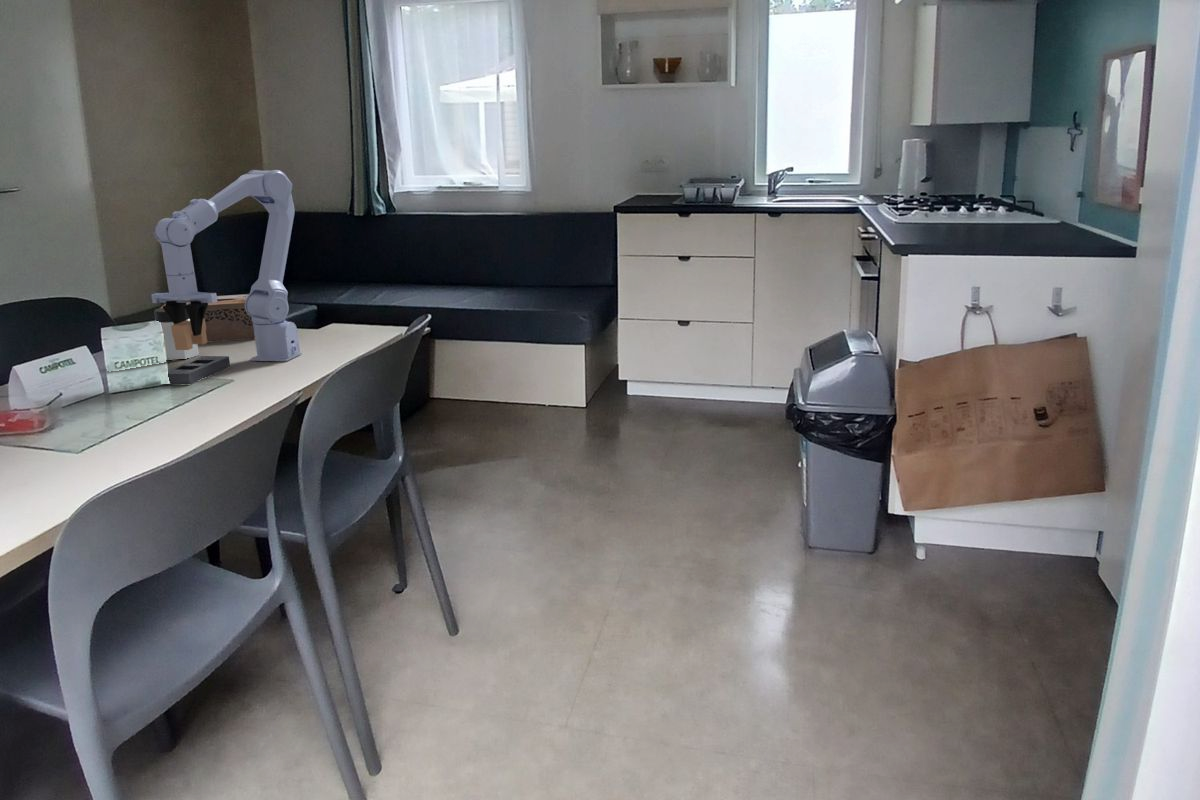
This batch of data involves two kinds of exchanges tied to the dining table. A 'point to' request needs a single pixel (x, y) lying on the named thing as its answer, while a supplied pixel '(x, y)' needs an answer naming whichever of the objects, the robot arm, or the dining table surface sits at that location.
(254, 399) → the dining table surface
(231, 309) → the tissue box cover
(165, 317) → the jar
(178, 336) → the tan block
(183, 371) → the grey slotted tray
